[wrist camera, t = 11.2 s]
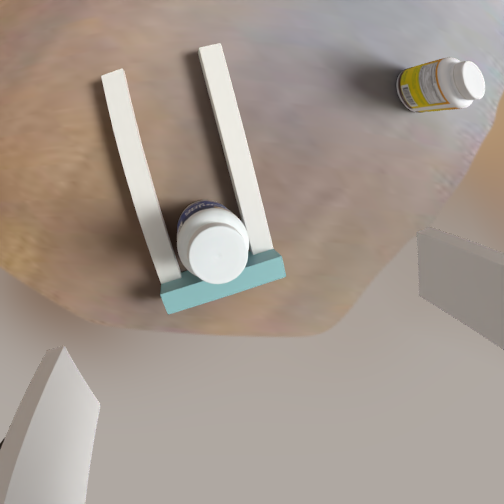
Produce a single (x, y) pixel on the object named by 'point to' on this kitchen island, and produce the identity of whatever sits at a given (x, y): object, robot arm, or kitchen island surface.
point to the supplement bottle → (440, 85)
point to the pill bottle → (212, 242)
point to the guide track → (241, 173)
